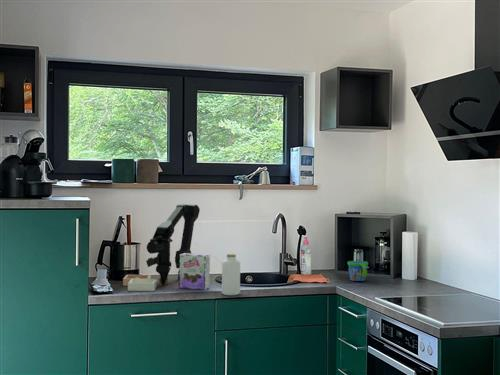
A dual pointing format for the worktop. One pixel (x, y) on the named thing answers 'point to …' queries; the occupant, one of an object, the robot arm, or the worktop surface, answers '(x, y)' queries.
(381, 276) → the worktop surface
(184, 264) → the candy box
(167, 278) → the walnut block
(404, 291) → the worktop surface
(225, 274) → the potion bottle
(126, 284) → the terracotta dish
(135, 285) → the cream dish
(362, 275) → the snack cup
